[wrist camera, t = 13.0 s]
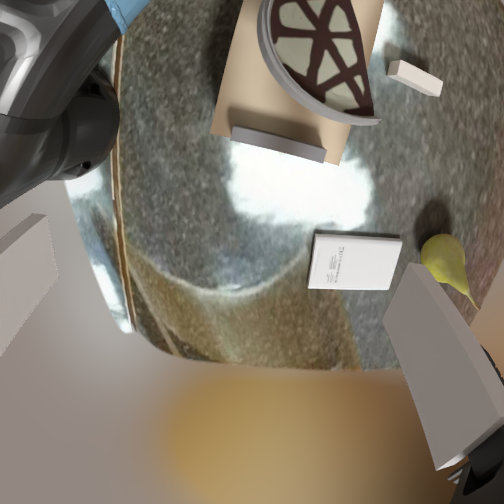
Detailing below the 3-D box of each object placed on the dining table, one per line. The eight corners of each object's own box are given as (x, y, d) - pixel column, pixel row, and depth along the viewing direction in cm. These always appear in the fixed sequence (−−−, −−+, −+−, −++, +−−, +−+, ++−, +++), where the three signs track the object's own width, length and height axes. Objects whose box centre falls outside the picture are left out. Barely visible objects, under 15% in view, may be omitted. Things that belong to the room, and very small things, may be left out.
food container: (244, -1, 19) (235, -46, 11) (313, -9, 19) (339, -54, 10) (273, 125, 25) (280, 142, 16) (341, 115, 24) (382, 129, 16)
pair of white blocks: (386, 75, 29) (396, 74, 26) (411, -40, 20) (421, -47, 17) (427, 95, 29) (439, 96, 27) (449, -18, 20) (460, -23, 17)
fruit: (438, 216, 37) (484, 259, 27) (458, 248, 39) (499, 293, 29) (405, 247, 40) (443, 298, 29) (428, 276, 42) (463, 326, 31)
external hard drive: (384, 284, 44) (306, 283, 44) (398, 236, 40) (314, 231, 39) (388, 290, 42) (307, 289, 42) (403, 241, 38) (316, 236, 38)
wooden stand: (220, 124, 33) (206, 136, 24) (257, -15, 24) (256, -50, 15) (322, 150, 34) (344, 171, 25) (359, 14, 25) (392, -8, 16)
